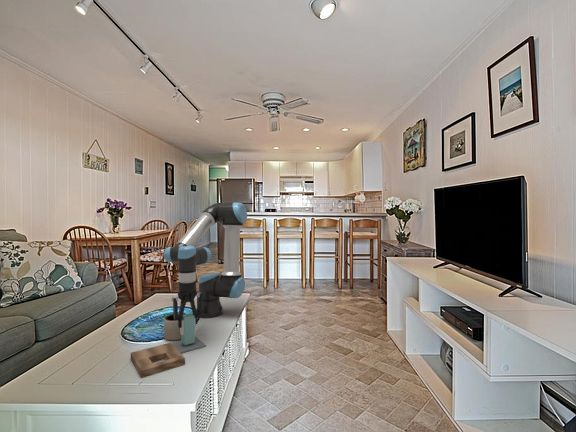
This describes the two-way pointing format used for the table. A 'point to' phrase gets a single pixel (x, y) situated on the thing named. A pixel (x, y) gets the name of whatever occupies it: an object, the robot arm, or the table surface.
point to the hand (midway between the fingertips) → (187, 332)
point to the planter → (171, 328)
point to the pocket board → (156, 359)
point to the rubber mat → (189, 347)
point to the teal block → (188, 329)
